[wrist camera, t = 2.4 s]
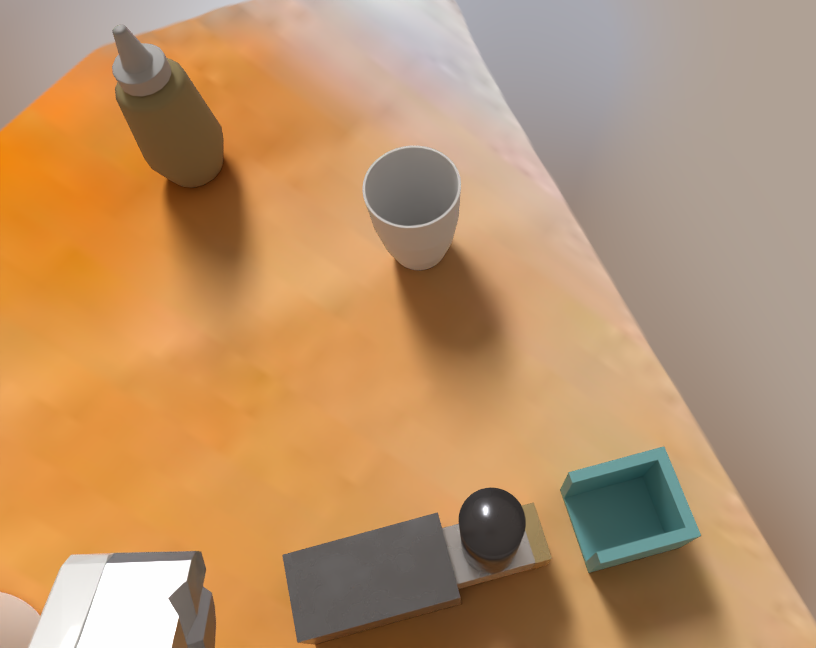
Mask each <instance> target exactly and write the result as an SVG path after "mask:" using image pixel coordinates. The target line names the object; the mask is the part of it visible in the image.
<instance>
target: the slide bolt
mask: <svg viewBox="0 0 816 648" xmlns="http://www.w3.org/2000/svg"><path fill="white" fill-rule="evenodd" d="M442 530H443V534H444V538H445V542H446V545H447V549H448V553H449V557H450V560H451V564H452V568H453V572H454V575H455V579H456V583H457V587H458V589H461V588H464V587H468V586H471V585H475V584H479V583H482V582H486V581H490V580H493V579H497V578H500V577H504V576H508V575H511V574H515V573H518V572H522V571H526V570H529V569H536V568H539V567H543V566H547V565H548V563H549V562H550V561H551V559H552V557H551V554H550V551H549V548H548V545H547V542H546V539H545V536H544V533H543V530H542V527H541V523H540V520H539V517H538V514H537V511H536V508H535V505H534V503H530V504H526V505H523V506H521V504H520V503H519V501H518V500H517V499H516V498H515V497H514V496H513V495H511V494H510V493H508V492H507V491H504V490H502V489H498V488H484V489H481V490H478V491H476V492H474V493H473V494H471V495H470V496H469V497H468V498H467V499H466V500H465V502H464V503H463V505H462V507H461V510H460V513H459V524H456V525H453V526H449V527H445V528H442Z"/></svg>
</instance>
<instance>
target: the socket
mask: <svg viewBox="0 0 816 648" xmlns="http://www.w3.org/2000/svg"><path fill="white" fill-rule="evenodd" d="M560 491H561V494H562V496H563V499H564V502H565V505H566V508H567V511H568V514H569V517H570V520H571V523H572V526H573V529H574V532H575V535H576V537H577V540H578V543H579V546H580V549H581V552H582V555H583V558H584V561H585V564H586V567H587V570H588V573H590V572H594V571H598V570H601V569H605V568H608V567H612V566H616V565H619V564H623V563H626V562H630V561H634V560H637V559H641V558H644V557H648V556H652V555H655V554H659V553H662V552H666V551H670V550H673V549H677V548H680V547H682V546H684V545H685V544H687V543H689V542H691V541H693V540H695V539H696V538H698V537H700V536H701V534H700V532H699V529H698V527H697V525H696V522H695V520H694V517H693V515H692V512H691V510H690V508H689V505H688V503H687V500H686V498H685V496H684V493H683V491H682V488H681V486H680V483H679V481H678V479H677V476H676V474H675V471H674V469H673V466H672V464H671V462H670V459H669V457H668V454H667V452H666V450H665V447H660V448H656V449H653V450H649V451H645V452H642V453H638V454H634V455H631V456H627V457H623V458H620V459H616V460H612V461H609V462H605V463H601V464H598V465H594V466H591V467H587V468H583V469H580V470H576V471H572V472H569V473H568V475H567V477H566V479H565V481H564V483H563V485H562V487H561V489H560Z"/></svg>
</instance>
